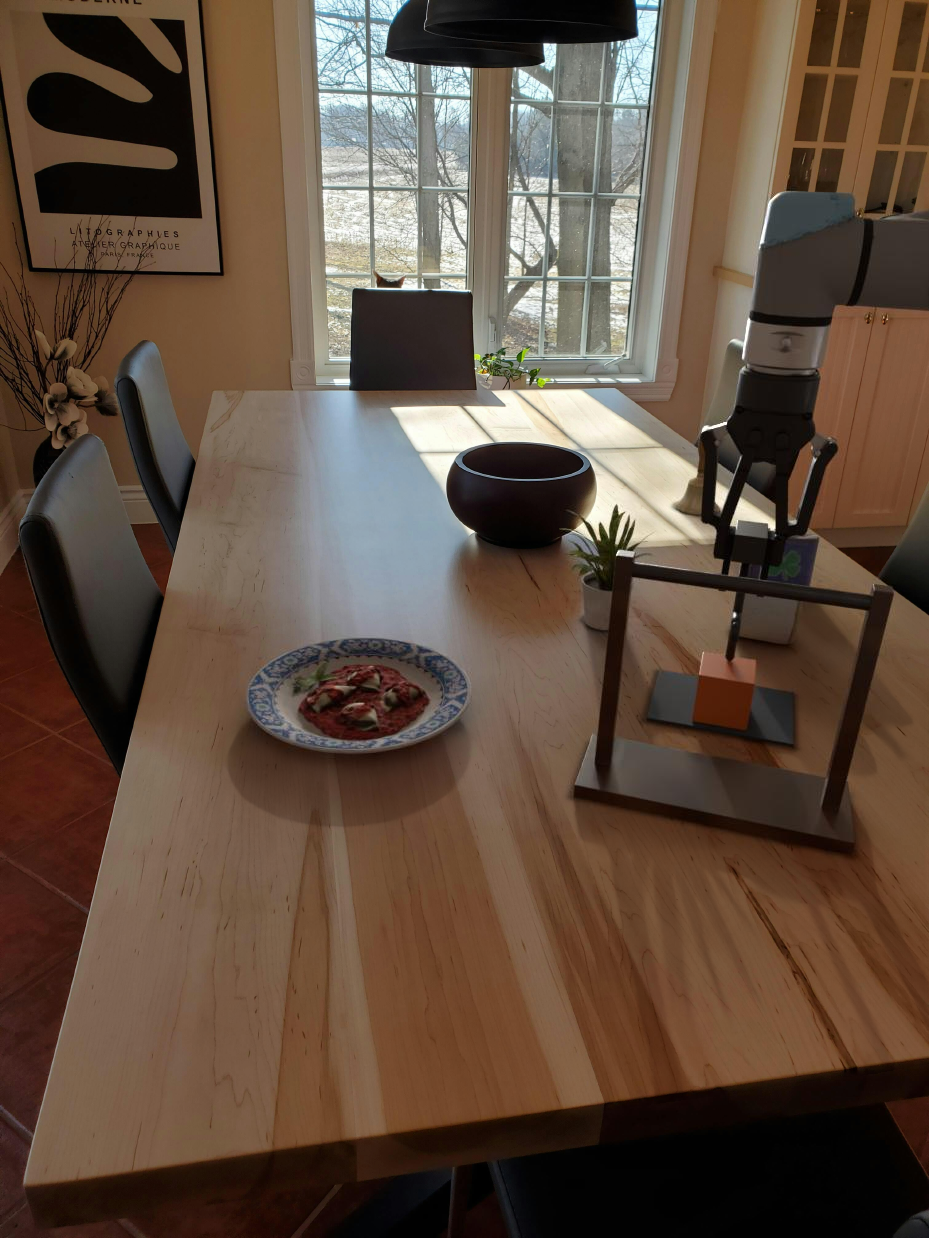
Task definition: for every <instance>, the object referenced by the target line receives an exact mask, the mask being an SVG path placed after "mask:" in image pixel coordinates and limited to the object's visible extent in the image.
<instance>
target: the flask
mask: <svg viewBox="0 0 929 1238" xmlns="http://www.w3.org/2000/svg"><path fill="white" fill-rule="evenodd" d="M768 531H774V532H775V528H774V529H773V530H772V529H771V527H768ZM819 543H820V537H819V536H818V535H816V534H815V533H806V534H805V535H803V536H799V535H795V536H791V537H789V538H788V539H787V540H786V544H785V549H784V554H783V559H782V563H781V565H780V566H779V567H774V566H770V567H769V572H768V578H767V581H774V582H781V583H789V584H796V585H803V586H811V582H812V578H813V572H814V568H815V562H816V557H817V554H818V553H817V552H818V547H819ZM760 568H761V565H754V564H750V570H749V576H748V578H752V579H759V574H760Z"/></svg>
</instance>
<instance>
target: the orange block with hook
mask: <svg viewBox="0 0 929 1238" xmlns="http://www.w3.org/2000/svg"><path fill="white" fill-rule="evenodd" d="M735 527H736V532H735V539H734V545H733V551H732V556H731V562H732V563H740V566H739V572H738V577H745V578H748V576H749V570H750V564H754V565H763V561H764V556H765V550H766V545H767V539H768V528H769V523H767V522H758V521H751V520H750V521H749V520H742V519H737V520H736V525H735ZM731 562H730V563H731ZM744 599H745V593H739V592H735V597H734V602H733V608H732V614H731V619H730V625H729V632H728V639H727V643H726V649H725V654H720V653H715V652H708V651H703V652H702V656H701V662H700V667H699V672H698V676H699V678H698V684H697V691H696V697H695V703H694V710H693V716H692V721H695V722H701V723H706V724H712V725H717V726H723V727H728V728H734V729H739V730H745V731H746V730H747V725H748V720H749V714H750V709H751V704H752V698H753V693H754V688H755V686H756V679H757V677H756V676H757V659H752V658H745V657H740V656H739V657H738V656H736V649H737V645H738V642H739V637H740V636H739V633H740V627H741V617H742V610H743V605H744Z"/></svg>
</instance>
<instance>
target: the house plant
mask: <svg viewBox="0 0 929 1238" xmlns="http://www.w3.org/2000/svg"><path fill="white" fill-rule="evenodd" d="M566 511H567V512H569V513H572V514H573V515H575V516H577V517H578V519H580V520H581V521H582V523H583V524H584V525H585V527H586V529H587V532H588V533H589V535H590V537H591V539H592V541H593V542H592V541H591V540H590V539H589V538H587V537H586V535H584V534H583V533H581V532H580V531H578V530H575V529H573V528H560V530H565V531H571V532H575V533H578V534H580V535H581V536H580V535H577V534H574V533H570V535H572V536H577V537H578V538H579V539H580V540H581V541H582V542H583V543H584V544H585V546H586V547H587V549H588V550H589V553H587V552H585V551H584V550H583V549H582V547H581V546H580V545H579V544H578V543H576V542H575V541H572V540H569V539H567V540H568V541H569V542H570V543H572V544H573V545H574V546H575V548H577V549H574V550H571V551H569V552H568V553H566V554H565V555H566V556H570V557H572V558H573V559H572V558H567V561H575V562H578V563H576V564H574V565H573V566H572V567H571V569H570V571H569V573H571V572H572V571H576V570H579V573H578V575H577V578H580V577H581V576H582V578H581V580H580V581H581V592H582V601H583V603H582V604H583V617H584V622H585V624H586V625H587V626H588V627H590V628H593V629H596V630H599V631H608V628H609V619H610V609H611V599H612V590H613V580H614V571H615V561H616V555H617V553H618V551H619V550H625V551H632V552H634V550H635V549H636V548H638V546H639V545H640V544H642V543H649V541H648V540H645V539H647V538H648V537H649V536H651V535H652V534H654V533H655V531H654V532H651V533H650V534H648V535H647V536H645V537H644V538H643V539H642V540H640V541H639V542H637V543H635V544H632V545H631V546H629V547H628V545H629V544H630V541H631V539H632V537H633V535H634V531H635V526H636V519H634V520H633V521H632V524H631V525H630V523H631V514H630V513H629V514H628V515H627V519H626V521H625V523H624V526H623V529H622V533H621V536H620V537H619V538H620V539H619V541H618V544H617V543H616V541H617V536H618V533H619V532H618V531H619V528H620V524H621V521H622V518H623V516H624V515H625V514H626V512H627V511H626V510H625V511H623V512H621V513H619V506H618V503H616V504H615V505H614V506H613V510H612V512H611V517H610V521H609V525H608V526H609V528H608V533H607V530H606V529H605V527H604V525H603V523H602V521H599V523H598V535H599V539H598V538H597V535H596V532H595V529H594V528H593V526H592V524H590V523H589V521H587V520H586V519H585V518H584V517H583V516H581V515H580V514H578V513H576V512H574V511H571V510H568V509H566ZM582 536H583V537H585V538H586V539H587V541H588V542H589V543H590V544H591V545H592V546H593V547H594V549H595V551H596V553H597V555H596V554H594V552H593V550H592V548H591V547H590V545H589V544H588V542H587V541H586V540H585V539H584V538H583V537H582ZM593 543H594V544H593ZM645 556H652V557H655V555H653V554H652V553H640V554H637V555H636V556H635V560H637V559H639V558H641V557H645ZM574 558H580V559H583V560H585V562H586V563H587V564H584V563H582V562H581V561H579V560H578V559H574ZM601 567H602V569H601ZM638 580H639V581H640V578H638ZM632 589H634V581H633V582H632Z"/></svg>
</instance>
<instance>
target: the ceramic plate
mask: <svg viewBox="0 0 929 1238" xmlns="http://www.w3.org/2000/svg"><path fill="white" fill-rule="evenodd" d="M472 692H473V688H472V683H471V680H470V678H469V676H468V674H467V673H466V671H465V669H463V667H462V666H460V664H458V662H456V661H455V660H454V659H452V658H451V657H449V656H448V655H446V654H444V653H442V652H440V651H438V650H436V649H434V648H432V647H428V646H426V645H422V644H419V643H417V642H416V643H415V642H412V641H407V640H401V639H396V638H388V637H387V638H386V637H374V636H373V637H371V636H367V637H366V636H363V637H362V636H361V637H345V638H335V639H330V640H323V641H319V642H315V643H311V644H307V645H303V646H301V647H298V648H296V649H293V650H290V651H288V652H285V653H282V654H281V655H280V656H278V657H276V658H275V659H273V660H271V661H270V662H268V663H267V664H265V665H263V667H262V668H260V669H259V670H258V671H257V672H256V673H255V674H254V676H253V677H252V679H251V680H250V682H249V684H248V685H247V687H246V690H245V706H246V709H247V712H248V714H249V716H250V717H251V720H252V721H254V723H255V724H256V725H257V726H258V728H260V729H262V730H263V731H264V732H265V733H267V734H269V735H270V736H271V737H274V738H275V739H277V740H279V741H281V742H284V743H287V744H289V745H292V746H295V747H298V748H303V749H305V750H306V749H307V750H310V751H316V752H323V753H331V754H347V755H349V754H350V755H351V754H352V755H355V754H357V755H358V754H372V753H381V752H387V751H393V750H398V749H402V748H405V747H410V746H413V745H416V744H418V743H422V742H424V741H427V740H430V739H432V738H434V737H436V736H438V735H440V734H441V733H444V731H446V730H448V729H449V728H451V727H452V726H453V725H455V723H457V722H458V721H459V720H460V719H461V718H462V716H463V715H464V714H465V713H466V711H467V710H468V708H469V706H470V703H471V699H472V696H473V693H472Z"/></svg>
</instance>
